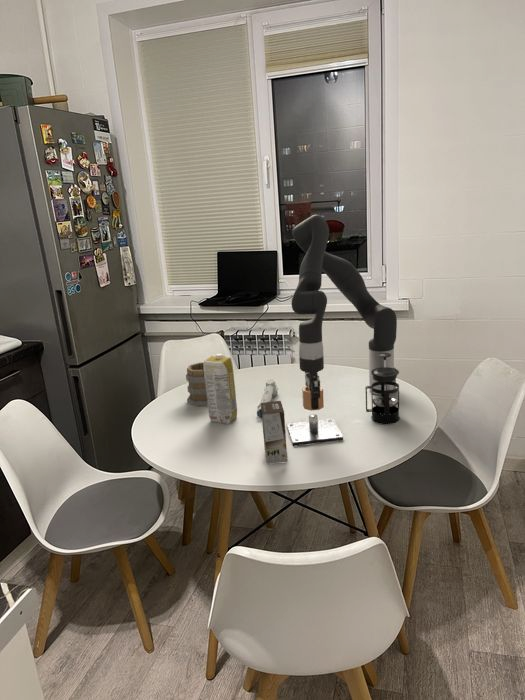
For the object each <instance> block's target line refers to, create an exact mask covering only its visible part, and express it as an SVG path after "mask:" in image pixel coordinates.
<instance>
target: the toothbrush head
mask: <svg viewBox="0 0 525 700" xmlns="http://www.w3.org/2000/svg"><path fill="white" fill-rule="evenodd" d="M263 390H264V392H263V394H262V397H261V400H260V402H259V404H258V405H257V407H256V408H257V411H256V416H257V417H258V418H260V419H262V413H261V403H265V402H271V401H272V398H274V397H276V396H278V391H279V387H278V385H277V383H276V381H275V380H274V379H271V378H270V379H268V380H266V382H265V386H264V389H263Z"/></svg>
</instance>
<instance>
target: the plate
mask: <svg viewBox="0 0 525 700" xmlns="http://www.w3.org/2000/svg"><path fill="white" fill-rule="evenodd" d="M286 430H287V433H288V435H289V438H290V441H291V444H292V446H293V447H296V446H305V445H313V444H321V443H330V442H341V441H344V435H343V434H342V432H341V430H340V428H339V427H338V425H337V423H336V421H335V420H334V418H325V419H318V415H317V414H315V413H311V414H308V421H299V422H291V423H286Z"/></svg>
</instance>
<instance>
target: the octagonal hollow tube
mask: <svg viewBox="0 0 525 700" xmlns="http://www.w3.org/2000/svg"><path fill="white" fill-rule="evenodd" d="M311 388H312V387H311ZM301 391H302V392H301V393H302V406H303V409H304V410H307V411H319V410H322V409H323V408H324V407H325V406H324V389H323V387H322V386H321V385H320V398H318V401H319V408H318V409H312V408H311V397H310V396H311V393H310V391H309V390H308V386H306V385H305V386H304V387H302V389H301ZM314 394H317V392H314Z"/></svg>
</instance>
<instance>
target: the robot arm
mask: <svg viewBox="0 0 525 700" xmlns="http://www.w3.org/2000/svg"><path fill="white" fill-rule="evenodd" d="M291 233H292V237H293V239H294V241H295V243H296V244H297V245H298V247H299V248H300V249H301V250H302V251H303V252H304V253H305V255H304V257H303V259H302V261H301V264H300V267H299V272H298V273H299V276H298V284H297V286H296V287H295V288H296V289H295V291H294V293H293V294H292V295H293V296H292V297H291V309H292V311H293V312H294V313H295V314H297V315H315V316H314V317H312V319H308V320H305V321H302V322H300V323H299V324H298V325H299V326H298V335H299V337H298V339H299V344H298V357H299V358H298V360H299V369H300V371H302V372H304V379H305V380H304V381H305V387H306V386H308V390H309V391H310V393H311V396H310V397H311V408H312V409H318V408H319V401H318V398H320V386H321V380H320V379H321V378H320V375H319V372H321V371H323V370H324V368H325V361H324V360H325V359H324V357H325V356H324V343H323V321H324V316H325V312H326V308H327V305H328V297H327V295H326V293H325V292H324V291H322V290H320V289H321V288H322V276H323V275H322V273H324V274H325V275H326V276H327V277H328V279H329V280H330V281H331V282H332V283H333V284H334V286H335V288H336V289H338V291H339V292H340V293H341V294H342V295H343V297H345V298H346V300H348V301H349V302H350V303H351V304H352V306H353V307H354V308H355V309H356V310H357V312H358V314H359V315H360V316H361V318H362V320H363V321H364V323H365V324H366V326H368V327H369V328H370V329H372V330H373V338H371V339H370V340H369V341H368V374H369V375H368V377H369V382H368V384H369V385H368V386H371V385H372V384H373V383H375V382H378V381H375V380H374V379H373V375H372V374H371V371H372V370H373V369H376V368H381V367H384V360H383V357H379V356H378V355H379V354H380V353H389V354H391V356H390V357H386V360H385V367H389V368H394V369H397V368H396V367H395V342H396V340H397V330H398V329H397V327H398V326H397V325H398V321H397V314H396V312H395V310H394V309H392V308H390V307H387V306H385V305H382V304H380V303H379V302H378V301H377V300H376V299H375V298H374V297H373V296H372V294H370V292H369V291H368V288H367V286H366V284H365V283H366V282H365V280H364V278H363V276H362V275H361V273H360V271H358V269H357V268H356V267H355V266H354V265H353V264H352V262H350V261H348V259H345V258H342V257H339V256H337V255H335V254H334V255H333V254H332V253H329V252H327V251H326V249H327V245H328V241H329V236H330V228H329V225H328V223H327V222H326V220H325V219H324V217H323V216H321V215H319V214H314V215H311V216H309V217H307V218H305V219H304V220H303V221H301V222H299V224H297V225H296V226H294V227H293V229H292V231H291ZM322 271H323V272H322ZM396 379H397V378H396ZM396 379H395V380H394V381H392V382H395V383H397V380H396ZM311 387H312V388H311ZM373 388H375V389H378V390H381V385H377V386H374V387H373ZM396 388H397V387H396V386H393V385H386V390H393V389H396ZM314 392H317V394H314ZM369 392H370V394H372V392H371V388H369ZM373 395H377V396H381V394H378V393H375V392H373Z"/></svg>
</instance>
